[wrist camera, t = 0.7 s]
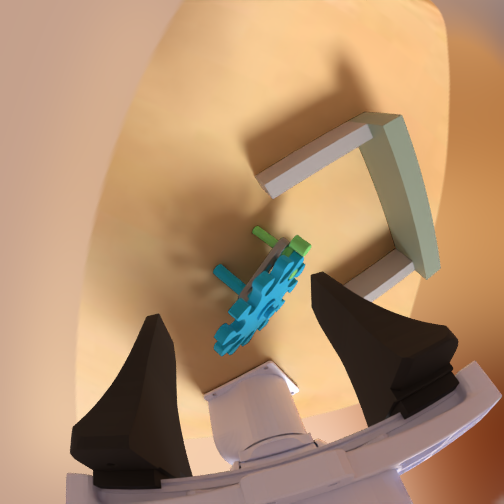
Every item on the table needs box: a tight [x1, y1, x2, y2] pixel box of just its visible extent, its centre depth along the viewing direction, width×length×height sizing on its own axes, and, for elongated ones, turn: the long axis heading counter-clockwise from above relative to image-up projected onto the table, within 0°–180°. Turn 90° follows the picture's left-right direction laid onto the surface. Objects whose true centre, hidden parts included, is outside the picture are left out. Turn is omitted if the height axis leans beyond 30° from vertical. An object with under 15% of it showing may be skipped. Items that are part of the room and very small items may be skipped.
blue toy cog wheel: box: [213, 226, 311, 357], centre depth 24 cm, size 11×6×10 cm
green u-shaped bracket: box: [255, 112, 441, 302], centre depth 23 cm, size 11×15×5 cm
